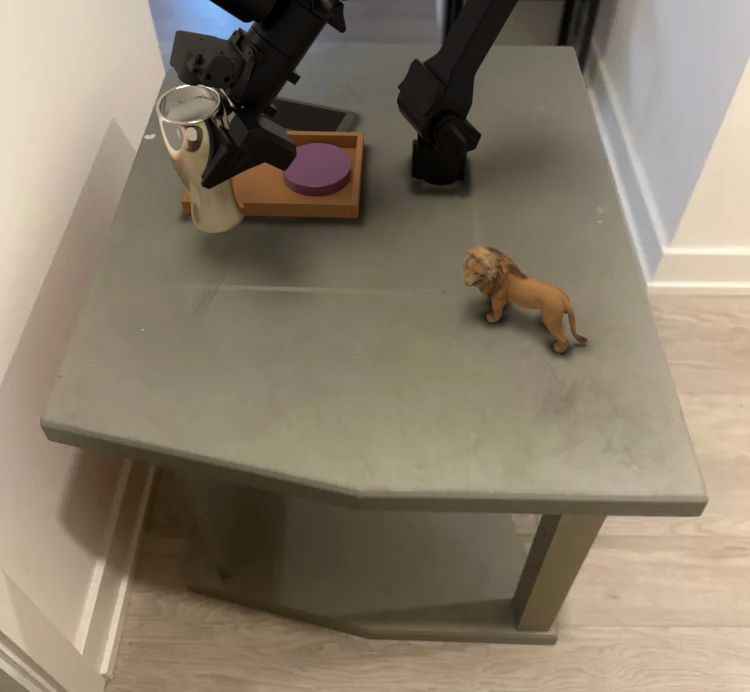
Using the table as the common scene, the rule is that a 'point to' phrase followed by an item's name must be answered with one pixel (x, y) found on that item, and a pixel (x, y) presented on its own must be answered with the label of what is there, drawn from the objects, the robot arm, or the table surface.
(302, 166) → the plum disc
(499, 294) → the lion figurine
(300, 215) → the tray
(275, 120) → the cell phone
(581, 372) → the table surface
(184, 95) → the beer glass
